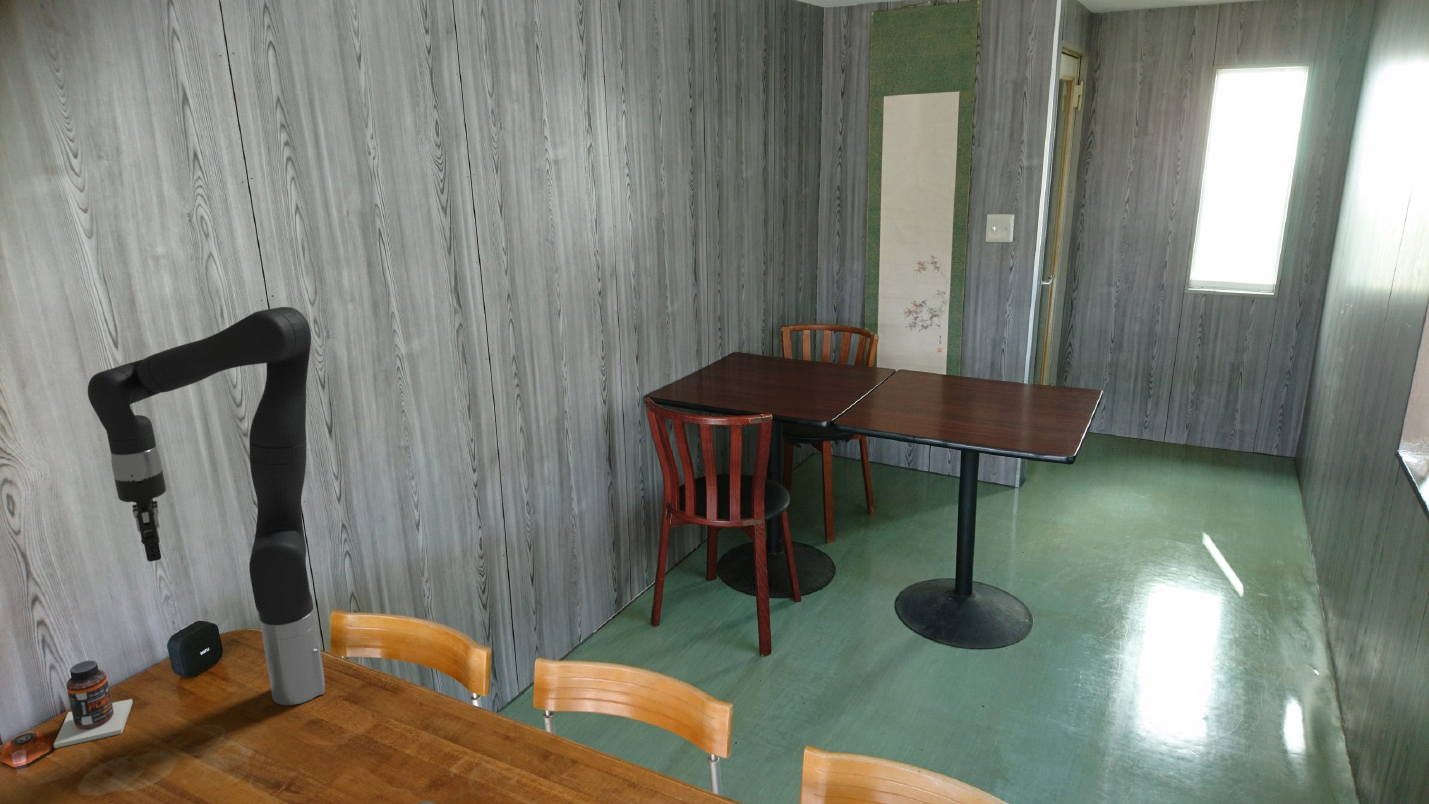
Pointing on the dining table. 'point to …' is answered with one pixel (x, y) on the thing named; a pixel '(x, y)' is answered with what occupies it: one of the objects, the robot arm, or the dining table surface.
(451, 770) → the dining table surface
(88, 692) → the supplement bottle
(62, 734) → the coaster
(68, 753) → the dining table surface
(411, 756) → the dining table surface
